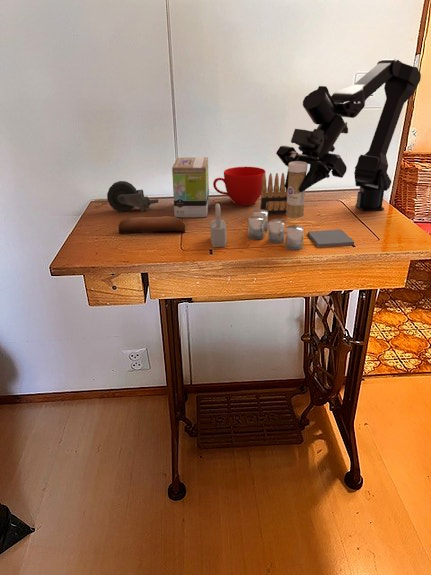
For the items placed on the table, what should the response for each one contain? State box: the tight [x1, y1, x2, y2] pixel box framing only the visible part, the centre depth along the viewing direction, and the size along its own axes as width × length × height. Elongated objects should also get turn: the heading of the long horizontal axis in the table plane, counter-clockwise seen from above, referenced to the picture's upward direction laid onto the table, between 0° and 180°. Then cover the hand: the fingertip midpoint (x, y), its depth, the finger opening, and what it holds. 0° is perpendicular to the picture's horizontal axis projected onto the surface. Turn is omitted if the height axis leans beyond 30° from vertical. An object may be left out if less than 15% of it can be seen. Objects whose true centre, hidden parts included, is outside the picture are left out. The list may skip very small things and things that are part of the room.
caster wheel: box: [106, 180, 159, 213], centre depth 137 cm, size 6×10×15 cm
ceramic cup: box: [212, 166, 266, 207], centre depth 140 cm, size 13×17×10 cm
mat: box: [307, 228, 355, 248], centre depth 113 cm, size 9×9×1 cm
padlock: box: [209, 202, 227, 248], centre depth 111 cm, size 7×4×10 cm, turn 2°
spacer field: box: [247, 209, 305, 251], centre depth 113 cm, size 12×18×5 cm
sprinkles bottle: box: [285, 161, 309, 219], centre depth 111 cm, size 5×5×13 cm
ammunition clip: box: [259, 172, 288, 216], centre depth 130 cm, size 11×2×12 cm, turn 90°
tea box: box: [171, 156, 210, 218], centre depth 134 cm, size 15×10×15 cm
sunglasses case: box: [118, 215, 186, 234], centre depth 123 cm, size 18×7×7 cm
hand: (292, 189), depth 110 cm, fingers closed on sprinkles bottle, 4 cm apart
